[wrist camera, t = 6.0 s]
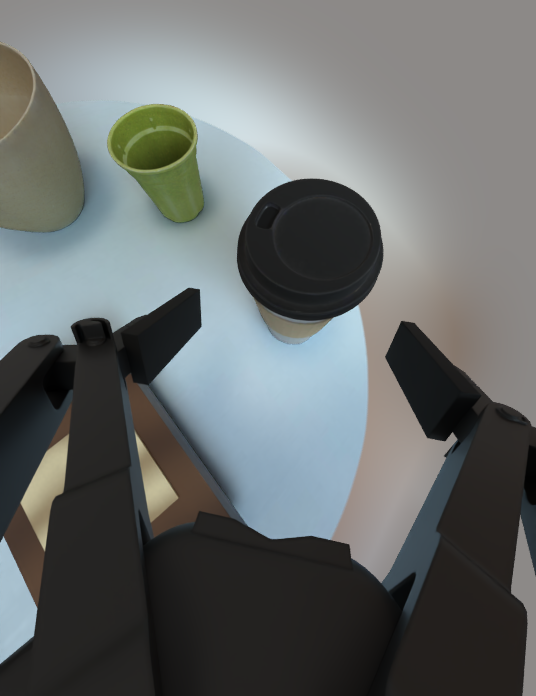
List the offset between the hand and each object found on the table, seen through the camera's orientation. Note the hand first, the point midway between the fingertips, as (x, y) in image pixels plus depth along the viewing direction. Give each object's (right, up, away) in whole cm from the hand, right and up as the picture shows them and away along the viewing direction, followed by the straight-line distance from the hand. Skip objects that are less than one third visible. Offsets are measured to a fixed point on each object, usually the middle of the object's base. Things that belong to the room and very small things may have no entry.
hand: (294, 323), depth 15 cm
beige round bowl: (-32, +18, +18) cm, 41 cm away
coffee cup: (+1, +2, +13) cm, 13 cm away
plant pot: (-14, +18, +17) cm, 29 cm away
